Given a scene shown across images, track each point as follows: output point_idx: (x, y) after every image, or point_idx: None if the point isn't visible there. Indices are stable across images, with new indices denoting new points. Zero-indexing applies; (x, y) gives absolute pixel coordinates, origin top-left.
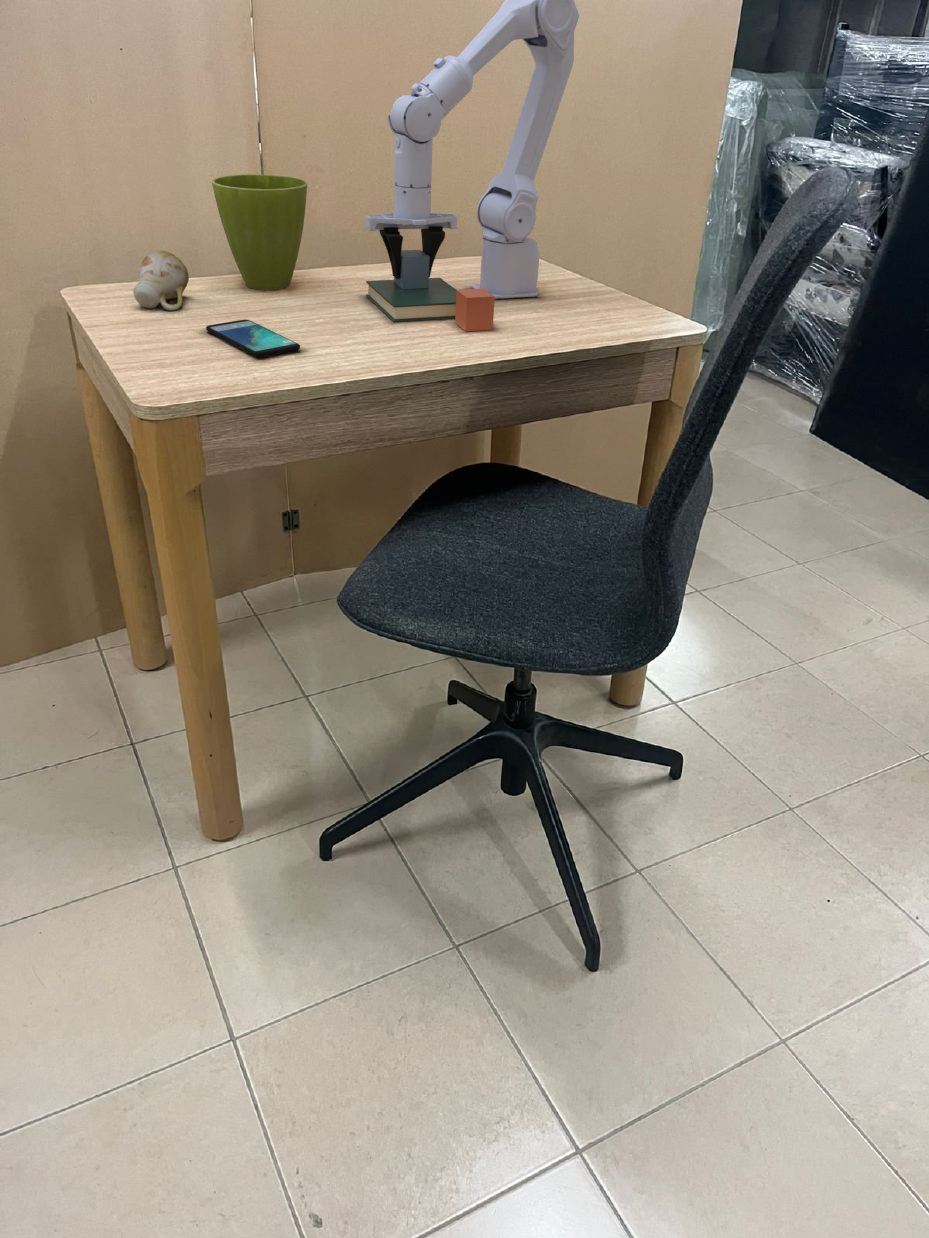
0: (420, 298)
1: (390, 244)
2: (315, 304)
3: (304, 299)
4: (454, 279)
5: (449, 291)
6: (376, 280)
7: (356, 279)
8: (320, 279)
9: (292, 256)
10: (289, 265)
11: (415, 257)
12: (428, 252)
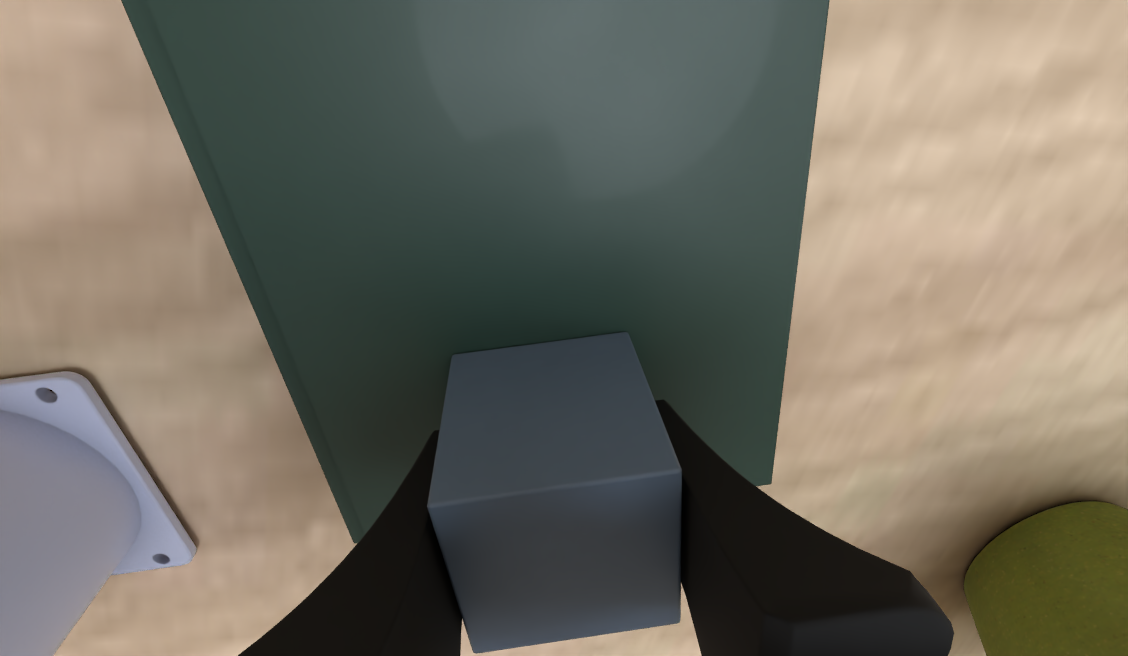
0: (562, 95)
1: (855, 549)
2: (1022, 323)
3: (1022, 396)
4: None
5: (311, 276)
6: None
7: (693, 627)
8: None
9: (1116, 634)
10: (1093, 592)
11: (562, 480)
12: (427, 563)
